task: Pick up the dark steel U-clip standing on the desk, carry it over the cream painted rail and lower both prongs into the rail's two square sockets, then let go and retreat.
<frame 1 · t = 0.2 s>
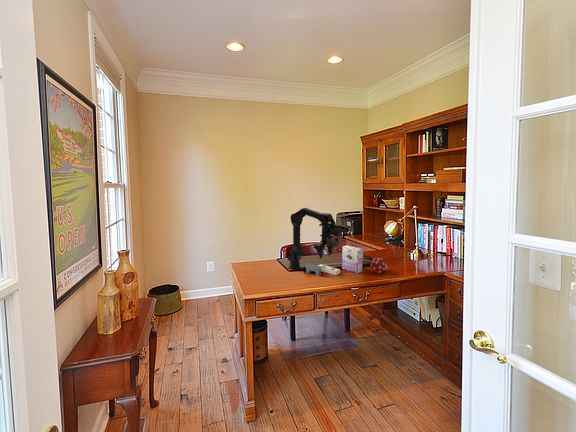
hand: (325, 256, 209), 14 cm above the table, fingers open, 9 cm apart
rail: (328, 271, 221), on the table
clip: (313, 273, 217), on the table
decorative mushroom: (380, 272, 222), on the table
candy box: (351, 270, 225), on the table
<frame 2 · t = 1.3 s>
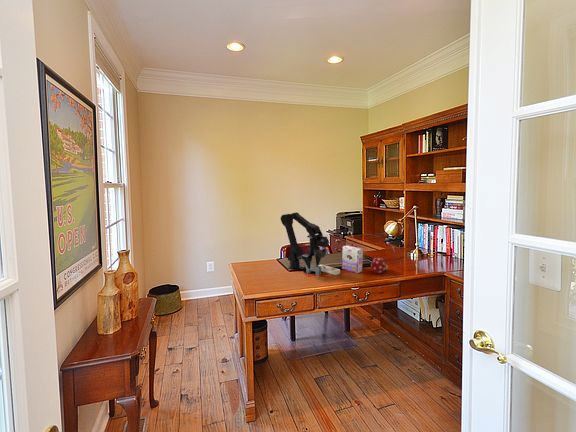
hand: (313, 267, 217), 5 cm above the table, fingers open, 9 cm apart
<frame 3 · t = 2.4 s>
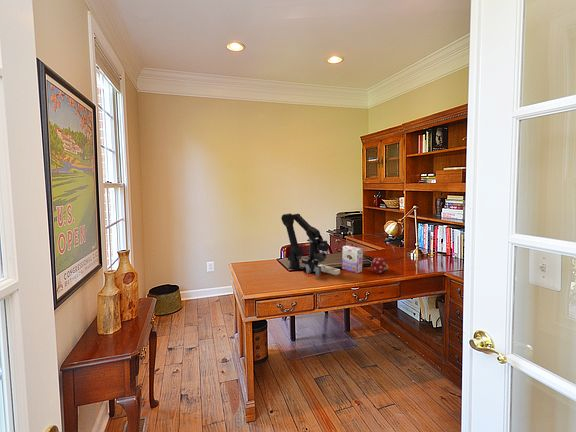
hand: (313, 271, 217), 2 cm above the table, fingers closed on clip, 3 cm apart
clip: (313, 273, 217), on the table, touching gripper
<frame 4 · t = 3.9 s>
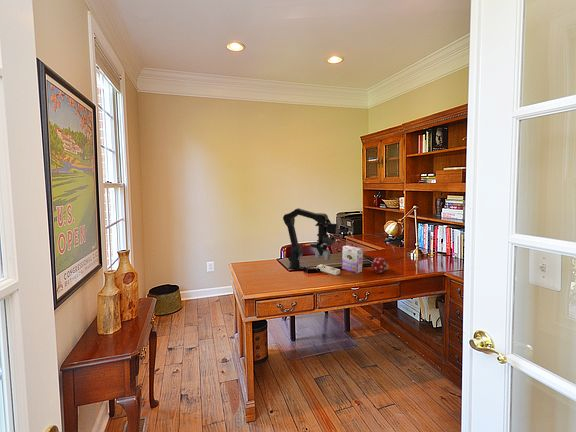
hand: (322, 255, 217), 12 cm above the table, fingers closed on clip, 3 cm apart
clip: (322, 258, 217), point 10 cm above the table, touching gripper
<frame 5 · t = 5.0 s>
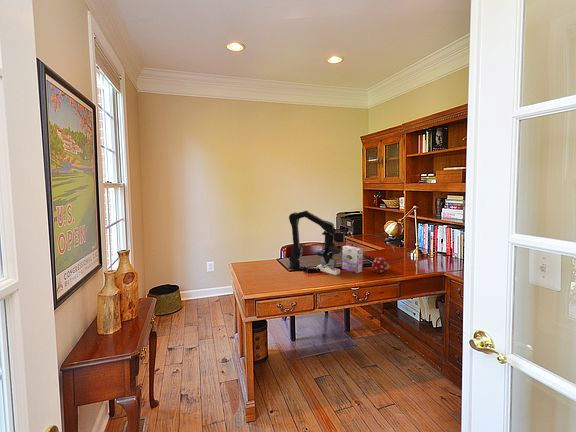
hand: (328, 263, 220), 6 cm above the table, fingers closed on clip, 3 cm apart
clip: (328, 266, 221), point 4 cm above the table, touching gripper
when the fingers open (4 cm above the table, at t = 5.6 s): clip drops 1 cm, resting on rail.
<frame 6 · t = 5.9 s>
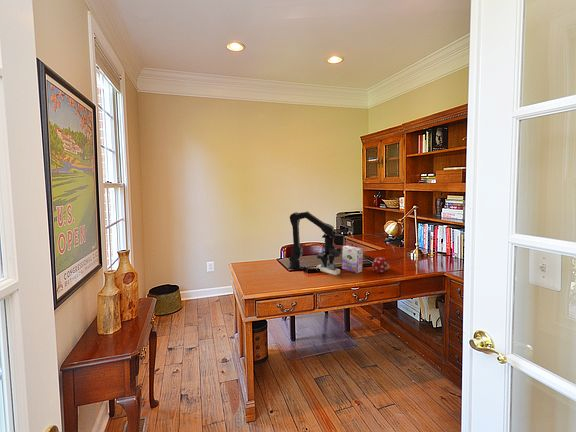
hand: (328, 266, 221), 4 cm above the table, fingers open, 6 cm apart
clip: (328, 271, 221), resting on rail
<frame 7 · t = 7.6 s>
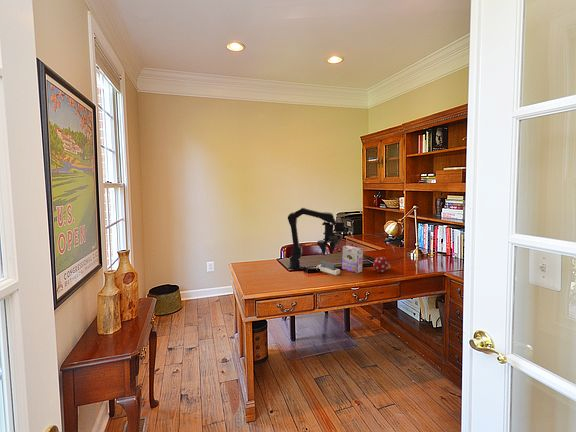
hand: (328, 253, 223), 12 cm above the table, fingers open, 9 cm apart
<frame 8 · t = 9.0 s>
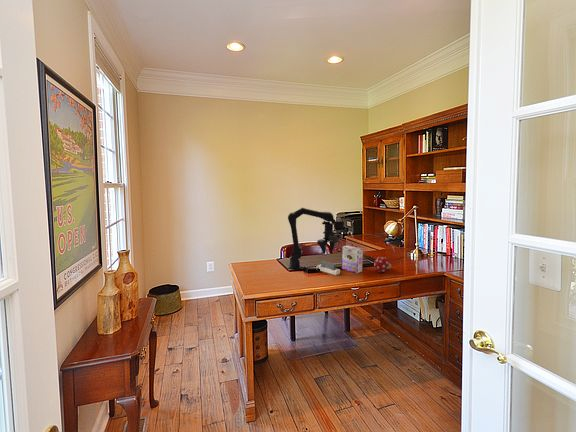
hand: (328, 252, 226), 12 cm above the table, fingers open, 9 cm apart
at the end: clip 0.0 cm off-centre on the rail, point 0.5 cm above the rail's base; clip tilted 0°; the gripper is holding nothing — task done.
